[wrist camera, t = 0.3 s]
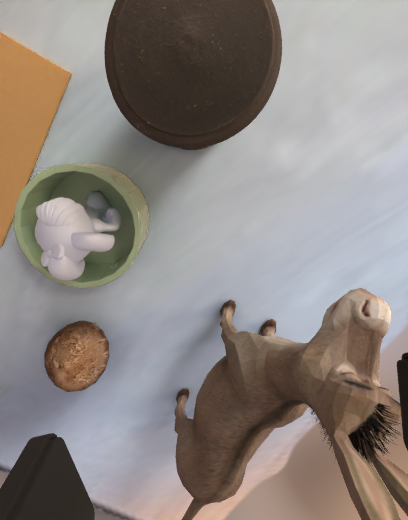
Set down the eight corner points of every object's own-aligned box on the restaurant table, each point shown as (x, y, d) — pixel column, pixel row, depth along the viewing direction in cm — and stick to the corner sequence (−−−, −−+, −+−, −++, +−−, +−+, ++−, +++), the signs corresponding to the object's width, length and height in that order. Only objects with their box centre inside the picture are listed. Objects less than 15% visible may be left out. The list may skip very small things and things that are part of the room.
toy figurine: (97, 174, 36) (52, 181, 24) (139, 219, 37) (115, 246, 26) (52, 216, 37) (-10, 242, 25) (95, 258, 38) (53, 301, 27)
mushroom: (120, 391, 40) (84, 399, 34) (68, 383, 43) (27, 390, 37) (128, 323, 42) (95, 321, 36) (77, 320, 45) (39, 317, 39)
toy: (326, 252, 40) (685, 499, 11) (195, 457, 48) (201, 912, 19) (267, 221, 38) (496, 407, 9) (142, 437, 46) (62, 893, 17)
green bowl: (68, 143, 35) (41, 139, 29) (167, 197, 37) (162, 204, 31) (28, 238, 38) (-4, 253, 32) (122, 283, 40) (109, 306, 34)
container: (247, 134, 35) (311, 104, 16) (168, 166, 36) (141, 173, 17) (218, 47, 33) (255, -109, 14) (135, 83, 34) (59, -19, 15)
